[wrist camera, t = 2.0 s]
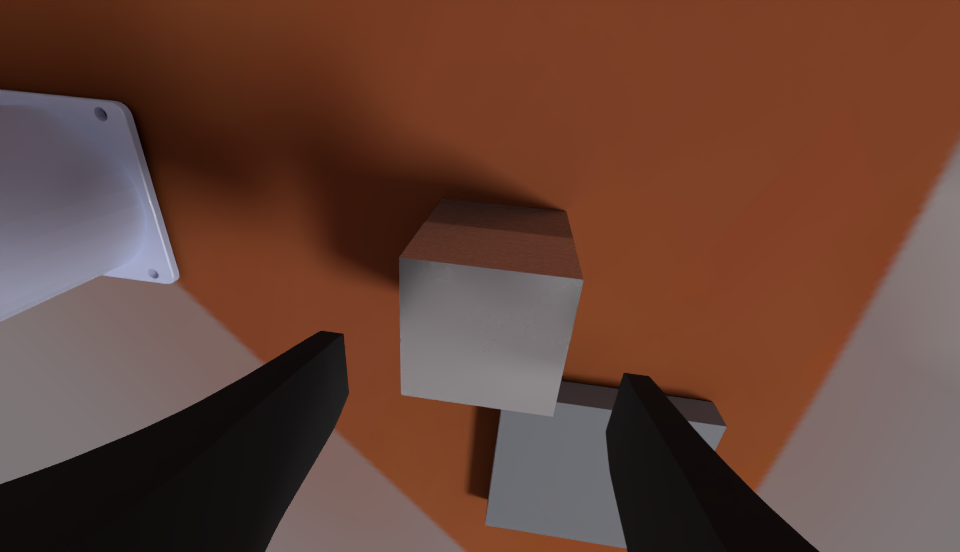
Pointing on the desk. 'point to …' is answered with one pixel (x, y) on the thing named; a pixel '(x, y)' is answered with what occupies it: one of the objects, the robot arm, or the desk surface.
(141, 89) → the desk surface
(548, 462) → the stand
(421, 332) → the block
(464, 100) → the desk surface
